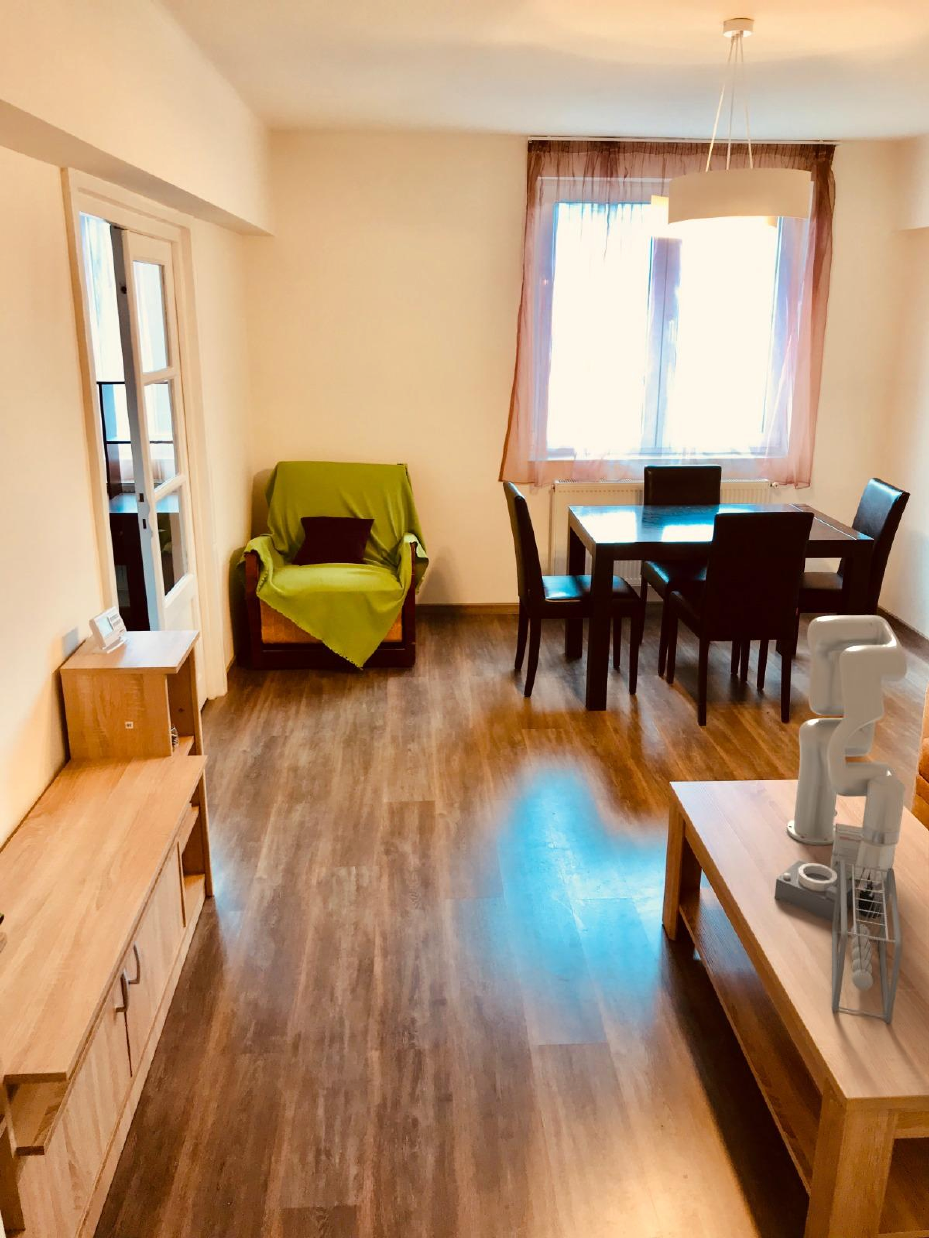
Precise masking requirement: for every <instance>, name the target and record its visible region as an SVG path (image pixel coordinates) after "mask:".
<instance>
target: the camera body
mask: <svg viewBox="0 0 929 1238" xmlns="http://www.w3.org/2000/svg"><path fill="white" fill-rule="evenodd" d="M837 882H838V875H837V873H836V872H835V871H834V870H832V869H831V868H830V866H826V865H823V864H821V863H814V862H810V863H807V862H805V861H802V860H797V861H796V862H795V863H793V864H792V865H791V866H790V867H788V869H786V870H785V871H784V872H782V873H781V874H780V875H779V876H778V877H777V878H776V879H775V889H774V898H775V899H777V900H778V901H781V902H784V903H786V904H788V905H791V906H793V907H796V908H798V909H799V910H802V911H805V912H807V913H810V914H811V915H814V916H816V917H819V918H821V919H824V920H826V921H827V922H830V923H832V924H833V915H834V907H835V899H836V890H837ZM846 885H847V910H849V909H850V908H851V907H853V887H852V879H846ZM854 885H855V881H854ZM856 888H858V882H856ZM856 890H858V889H856ZM855 898H856V894H855ZM839 918H841V904H840V912H839Z"/></svg>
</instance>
